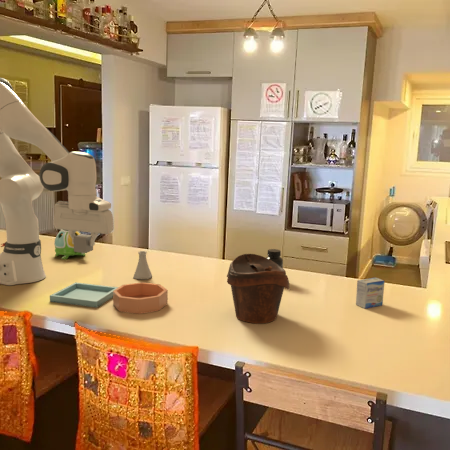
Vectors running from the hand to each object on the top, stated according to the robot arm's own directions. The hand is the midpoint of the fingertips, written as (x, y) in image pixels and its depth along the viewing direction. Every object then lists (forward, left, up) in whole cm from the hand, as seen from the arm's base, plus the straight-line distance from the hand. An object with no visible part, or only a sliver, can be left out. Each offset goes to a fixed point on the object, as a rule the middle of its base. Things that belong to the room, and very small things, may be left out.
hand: (83, 244), depth 162 cm
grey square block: (0, 0, -2) cm, 2 cm away
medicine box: (+91, +24, -18) cm, 96 cm away
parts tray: (0, 0, -18) cm, 18 cm away
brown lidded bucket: (+58, +2, -18) cm, 61 cm away
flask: (+8, +27, -18) cm, 34 cm away
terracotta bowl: (+20, 0, -18) cm, 27 cm away
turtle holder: (-34, +45, -18) cm, 59 cm away
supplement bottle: (+56, +39, -18) cm, 71 cm away
